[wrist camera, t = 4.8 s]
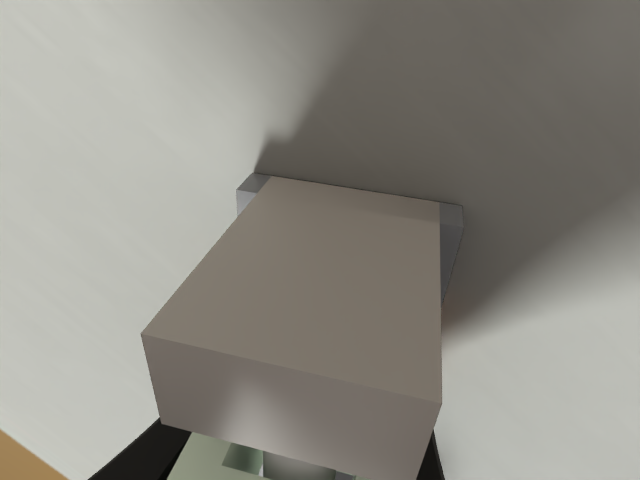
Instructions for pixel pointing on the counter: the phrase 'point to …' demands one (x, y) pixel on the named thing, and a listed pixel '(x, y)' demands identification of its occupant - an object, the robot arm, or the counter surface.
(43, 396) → the counter surface
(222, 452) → the sleeve
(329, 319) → the rod with sliding collar
